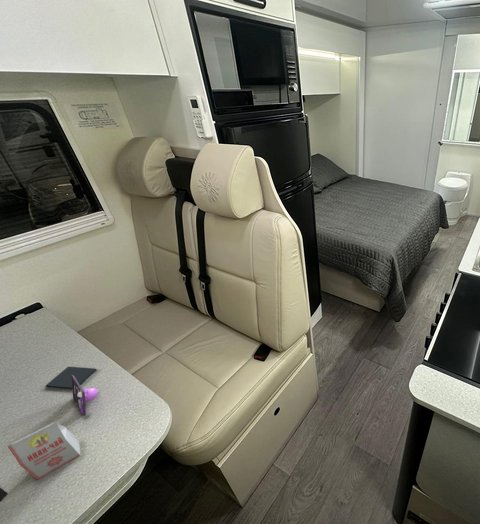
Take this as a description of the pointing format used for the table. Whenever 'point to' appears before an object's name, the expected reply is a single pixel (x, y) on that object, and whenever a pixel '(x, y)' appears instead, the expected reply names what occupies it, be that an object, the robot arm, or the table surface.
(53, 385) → the mat
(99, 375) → the table surface
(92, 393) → the purple knobbed frame
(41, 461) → the white red carton
